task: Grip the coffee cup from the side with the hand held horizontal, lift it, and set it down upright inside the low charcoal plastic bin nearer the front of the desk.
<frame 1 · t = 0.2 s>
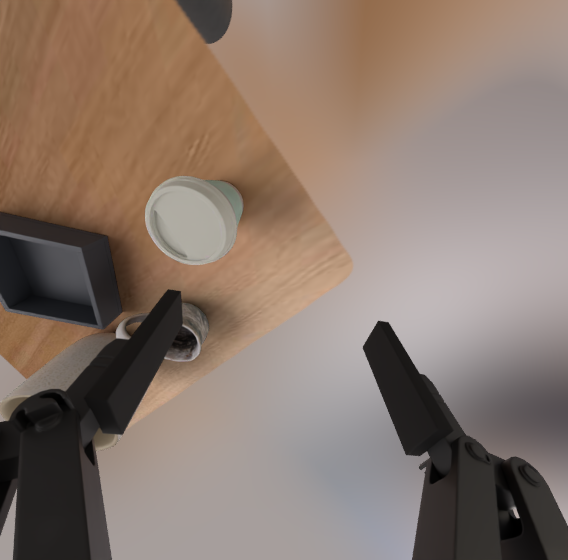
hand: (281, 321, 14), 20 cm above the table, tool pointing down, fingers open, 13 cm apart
planter: (127, 349, 47), on the table
coffee cup: (223, 203, 30), on the table
bin: (68, 268, 36), on the table
mug: (182, 312, 41), on the table
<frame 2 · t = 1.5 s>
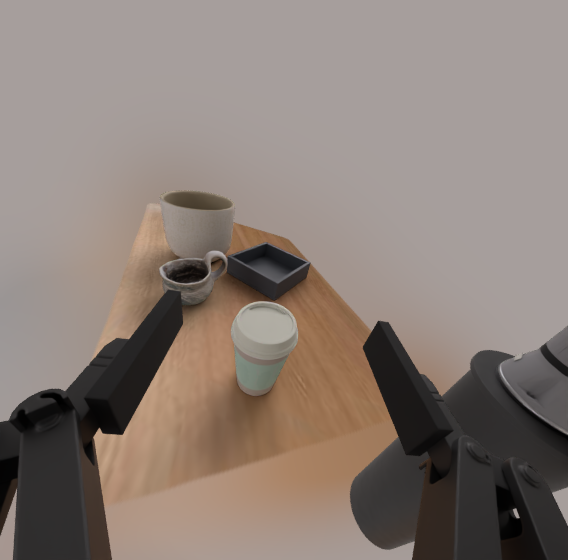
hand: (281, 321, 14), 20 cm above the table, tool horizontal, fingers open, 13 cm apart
planter: (200, 255, 61), on the table
coffee cup: (255, 377, 33), on the table
bin: (268, 274, 58), on the table
mug: (196, 295, 46), on the table
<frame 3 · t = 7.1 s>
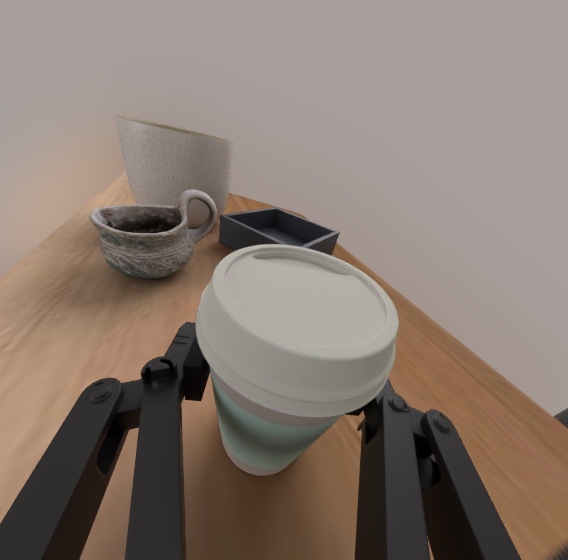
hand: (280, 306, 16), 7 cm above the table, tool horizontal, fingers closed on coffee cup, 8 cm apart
planter: (184, 220, 43), on the table
coffee cup: (262, 423, 15), on the table, touching gripper
bin: (279, 248, 41), on the table
mug: (166, 267, 29), on the table
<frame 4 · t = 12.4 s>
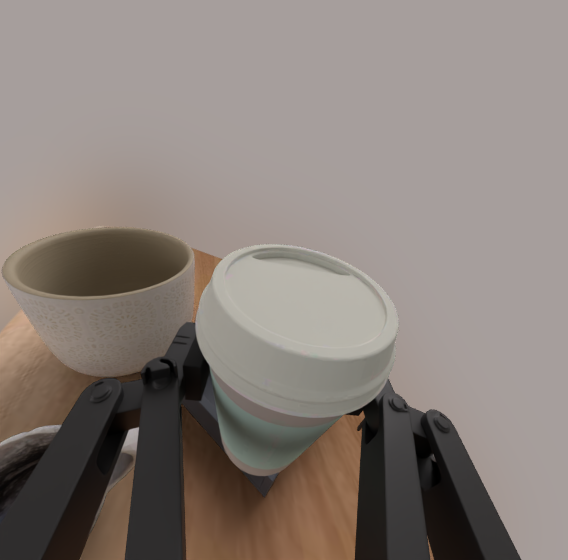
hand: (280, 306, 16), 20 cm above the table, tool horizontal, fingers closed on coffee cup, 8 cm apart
planter: (136, 342, 33), on the table
coffee cup: (262, 423, 15), point 13 cm above the table, touching gripper
bin: (258, 390, 30), on the table
mug: (68, 512, 18), on the table
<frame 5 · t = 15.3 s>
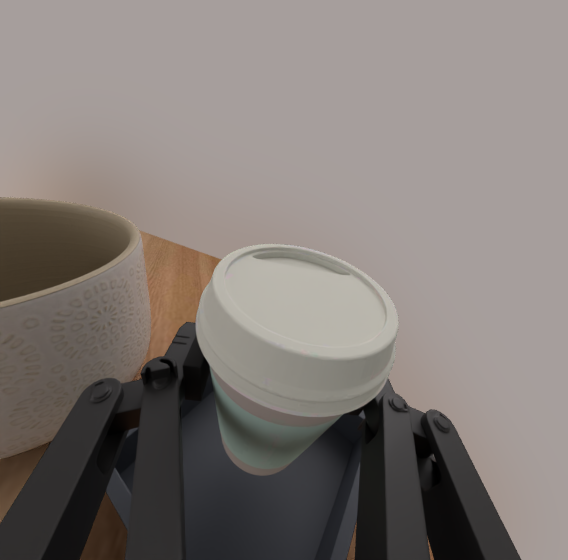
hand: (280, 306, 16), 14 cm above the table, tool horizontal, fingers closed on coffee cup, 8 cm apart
planter: (62, 381, 21), on the table
coffee cup: (262, 423, 15), point 7 cm above the table, touching gripper
bin: (251, 461, 19), on the table
when the fingers open (7 cm above the table, at t = 17.6 s): coffee cup stays where it is, resting on bin.
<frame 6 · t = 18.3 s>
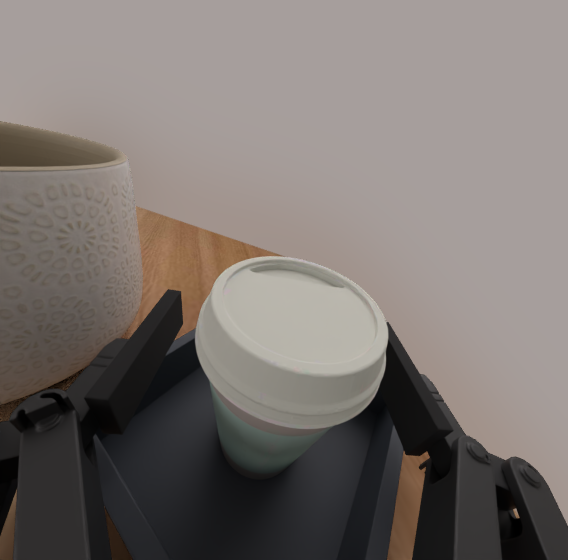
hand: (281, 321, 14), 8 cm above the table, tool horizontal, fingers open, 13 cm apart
planter: (38, 342, 18), on the table
coffee cup: (260, 428, 16), point 1 cm above the table, touching bin
bin: (259, 431, 16), on the table
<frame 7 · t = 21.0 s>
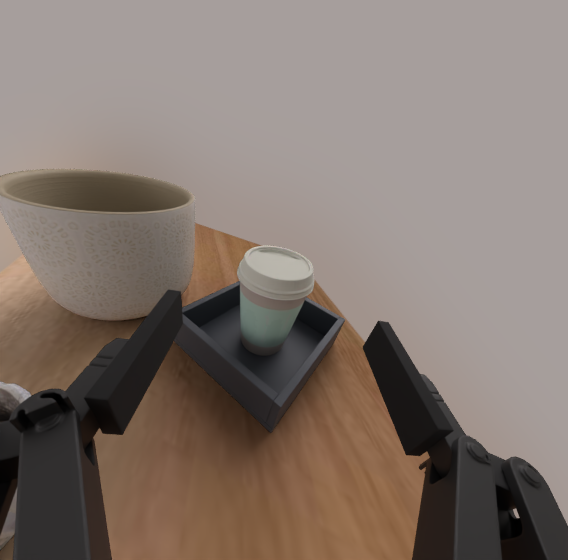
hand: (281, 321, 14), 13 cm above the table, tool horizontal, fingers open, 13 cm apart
planter: (134, 296, 32), on the table
coffee cup: (262, 338, 29), point 1 cm above the table, touching bin
bin: (261, 342, 29), on the table
mug: (0, 511, 14), on the table
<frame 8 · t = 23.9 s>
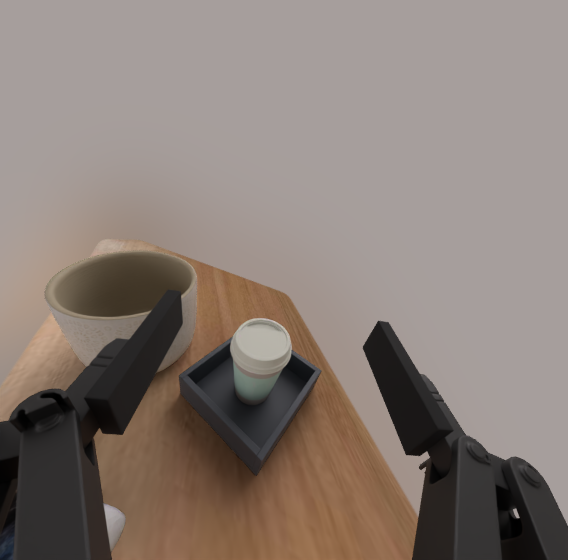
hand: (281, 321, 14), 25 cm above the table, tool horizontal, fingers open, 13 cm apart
planter: (146, 349, 38), on the table
coffee cup: (252, 387, 35), point 1 cm above the table, touching bin
bin: (252, 390, 36), on the table
mug: (65, 544, 20), on the table
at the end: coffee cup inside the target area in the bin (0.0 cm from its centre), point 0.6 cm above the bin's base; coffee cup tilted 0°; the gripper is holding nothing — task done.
